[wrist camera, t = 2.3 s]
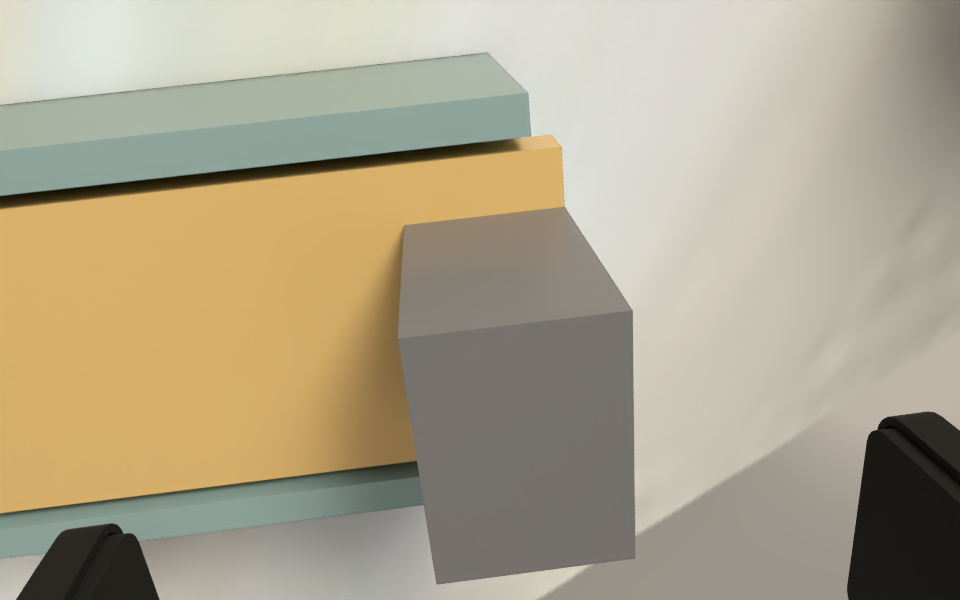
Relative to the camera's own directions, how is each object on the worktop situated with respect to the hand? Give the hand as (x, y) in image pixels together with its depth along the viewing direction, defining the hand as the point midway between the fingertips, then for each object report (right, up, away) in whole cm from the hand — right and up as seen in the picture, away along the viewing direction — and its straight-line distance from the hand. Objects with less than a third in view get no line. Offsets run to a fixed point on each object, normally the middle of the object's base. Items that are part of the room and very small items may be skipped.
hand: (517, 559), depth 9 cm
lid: (-5, +3, +7) cm, 9 cm away
